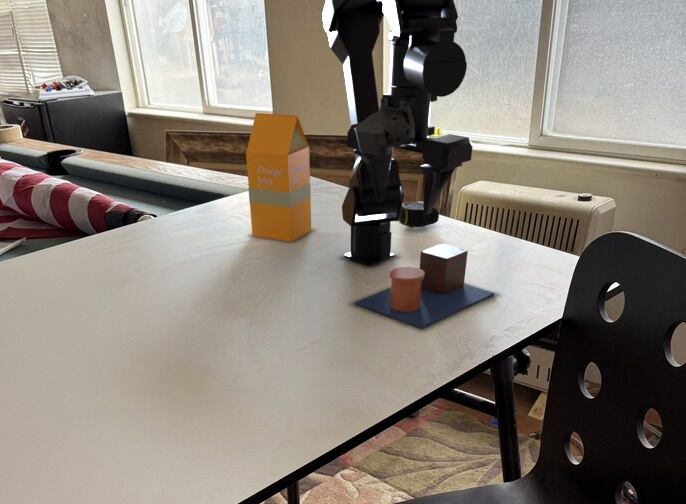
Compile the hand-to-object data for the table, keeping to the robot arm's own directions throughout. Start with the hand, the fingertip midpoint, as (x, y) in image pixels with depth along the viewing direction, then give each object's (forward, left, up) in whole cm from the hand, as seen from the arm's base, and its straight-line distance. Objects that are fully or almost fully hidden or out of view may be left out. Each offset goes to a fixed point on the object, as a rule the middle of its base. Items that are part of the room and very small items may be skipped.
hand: (403, 207), depth 102 cm
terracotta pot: (+7, -6, -11) cm, 15 cm away
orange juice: (-34, +5, -12) cm, 37 cm away
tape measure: (-18, +26, -12) cm, 34 cm away
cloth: (+7, -2, -12) cm, 14 cm away
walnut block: (+6, +3, -11) cm, 13 cm away
